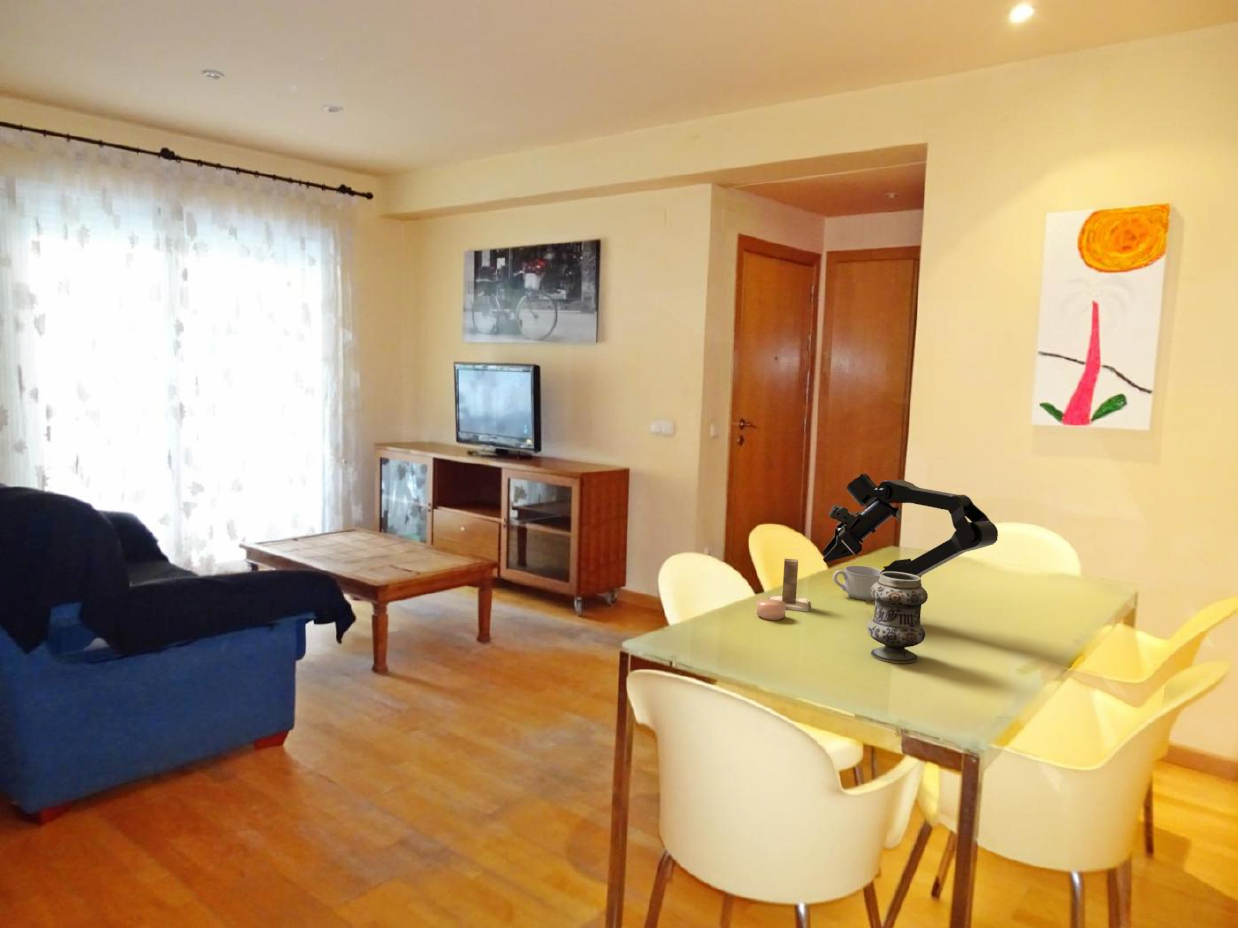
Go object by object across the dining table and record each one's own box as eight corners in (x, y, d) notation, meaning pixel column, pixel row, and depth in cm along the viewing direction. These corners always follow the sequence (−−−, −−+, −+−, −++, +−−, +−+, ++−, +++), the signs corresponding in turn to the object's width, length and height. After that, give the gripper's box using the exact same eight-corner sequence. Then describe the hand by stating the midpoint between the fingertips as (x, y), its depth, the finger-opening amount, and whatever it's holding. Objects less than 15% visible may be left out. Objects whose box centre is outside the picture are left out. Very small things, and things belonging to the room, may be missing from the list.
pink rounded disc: (789, 622, 213) (790, 606, 213) (762, 622, 212) (763, 606, 211) (779, 614, 220) (779, 598, 220) (752, 614, 219) (753, 599, 218)
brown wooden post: (807, 601, 232) (810, 558, 231) (808, 611, 222) (811, 565, 221) (769, 598, 234) (772, 555, 233) (768, 607, 224) (771, 562, 223)
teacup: (878, 594, 245) (880, 566, 244) (886, 604, 234) (888, 575, 234) (828, 591, 246) (830, 563, 246) (833, 601, 236) (835, 571, 235)
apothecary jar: (928, 654, 192) (934, 574, 190) (916, 669, 182) (923, 585, 180) (873, 644, 198) (878, 566, 196) (858, 658, 188) (864, 576, 186)
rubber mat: (809, 602, 233) (809, 601, 233) (810, 613, 222) (810, 612, 222) (767, 599, 235) (767, 597, 235) (766, 609, 224) (766, 608, 224)
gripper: (847, 490, 232) (802, 528, 235) (851, 499, 213) (802, 540, 217) (875, 521, 231) (830, 559, 234) (882, 533, 213) (833, 574, 216)
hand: (823, 557), depth 225 cm, fingers open, 9 cm apart
